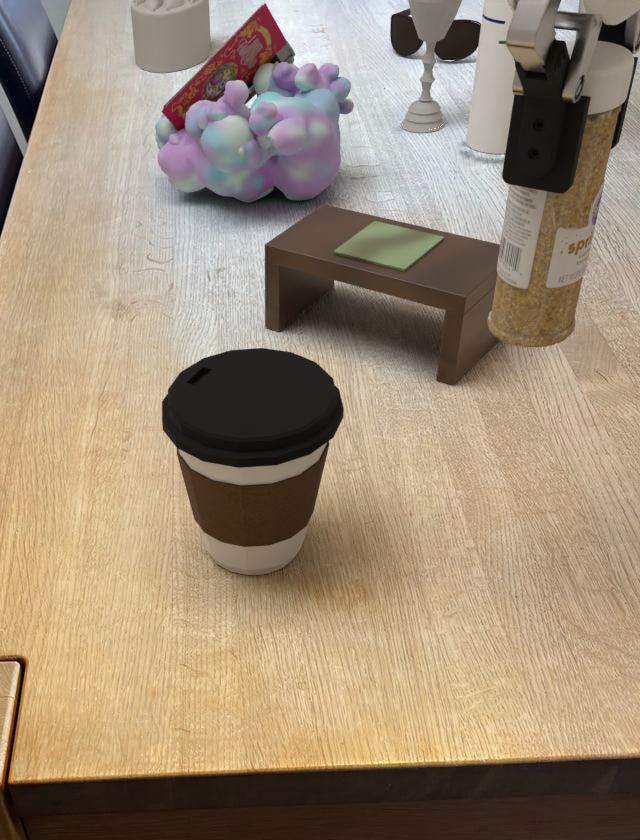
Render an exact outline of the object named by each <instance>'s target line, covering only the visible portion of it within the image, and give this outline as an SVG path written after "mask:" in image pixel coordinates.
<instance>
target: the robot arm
mask: <svg viewBox="0 0 640 840" xmlns="http://www.w3.org/2000/svg"><path fill="white" fill-rule="evenodd" d="M507 1H508V4H509V6H510V8H511V9H512V10H513V11H514V15H513V17H512V20H511V23H510V26H509V29H508V32H507V37H506V45H507V48H508V49H509V51H510V53H511V54H512V56H513V57H514V61H515V68H516V71H515V75H514V80H513V86H512V91H513V94H514V100H513V107H512V113H511V120H510V126H509V133H508V139H507V146H506V153H505V154H504V160H503V167H502V173H501V178H502V180H503V182H504V183H505V184H507V185H509V184H510V185H516V186H521V187H526V188H532V189H537V190H542V191H547V192H553V193H558V194H562V193H565V192H566V191H567V190H568V189H569V188H571V186H572V185H573V183H574V178H575V173H576V168H577V163H578V158H579V154H580V149H581V144H582V139H583V134H584V129H585V124H586V119H587V114H588V109H589V104H590V100H591V97H589V96H582V93H583V91H584V87H585V84H586V80H587V76H588V73H589V69H590V65H591V62H592V58H593V54H594V51H595V47H596V43H597V41H605V42H610V43H614V44H618V45H621V46H623V47H625V48H627V49H628V50H630V51H631V53H632V54H633V55H637V54H638V53H639V51H640V0H579V1H578V12H576V11H565V10H559V8H560V5H561V2H562V0H507ZM556 30H563V31H573V32H575V39H574V40H575V44H574V48H573V51H572V55H571V59H570V57H569V54H568V50H567V46H566V42H565V41H566V40H561V39H560V40H559V39H557V38H556V36H557V32H556ZM638 62H639V56H634V66H633V71H632V76H631V81H630V86H629V90H628V94H627V98H626V100H625V102H624V103H622V104H621V111H620V112H619V114H618V117H617V123H616V127H615V131H614V135H613V140H612V145H611V150H613V149H614V148H615V147H616V146H617V145H618V144H619V142H620V139H621V136H622V130H623V127H624V123H625V117H626V114H627V108H628V104H629V100H630V96H631V91H632V87H633V83H634V78H635V74H636V71H637V65H638Z"/></svg>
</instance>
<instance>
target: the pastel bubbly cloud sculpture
mask: <svg viewBox="0 0 640 840" xmlns="http://www.w3.org/2000/svg"><path fill="white" fill-rule="evenodd" d="M295 56H296V52H295V51H294V49H293V47H292V46H291V44H290V43H289V41H288V40H287V39H286V37H285V35H284V33H283V32H282V29H280V26H279V25H278V23H277V20H275V18H274V16H273V14H272V12H271V10H270V8H269V7H268V5H267V3H266V2H263V3H262V4H261V5H260V6H259V7H258V8H257V9H256V11H254V12H253V13H252V14H251V15H250V16H249V17H248V19H246V21H245V22H243V24H242V25H241V26H240V27H239V28H238V29H237V30H236V31H235V32H234V33H233V34H232V36H230V37H229V39H227V40H226V42H225V43H223V45H222V46H221V47H220V48H219V49H218V50H217V51H216V52H215V53H214V54H213V55H212V56H211V57H210V58H209V60H207V61H206V62H205V63H204V65H202V66H201V68H200V69H199V70H198V71H197V72H196V73H195V74H194V75H193V76H192V77H191V78H190V79H189V80H188V81H187V82H186V83H185V84H184V85H182V87H181V88H180V89H178V91H177V92H176V93H175V94H174V95H173V96H172V97H171V98H170V99H169V100H168V101H167V102H166V103H164V105H163V108H161V109H160V112H161V113H162V114H161V116H160V119H158V120H157V121H156V123H155V125H154V127H155V128H154V129H155V134H154V137H155V138H154V139H155V142H156V145H157V148H158V153H157V163H158V166H159V168H160V170H161V171H162V172H163V173H164V174H165V175H166V176H167V178H168V180H169V182H170V184H171V185H172V186H173V187H174V188H175V189H177V190H178V191H181V192H183V193H194V192H195V193H196V192H199V191H201V190H203V189H205V188H206V189H208V190H210V191H211V192H213V193H214V194H216V195H219V196H221V197H232V198H234V199H236V200H238V201H241V202H243V203H249V204H251V203H254V202H256V201H258V200H260V199H261V198H264V197H267V196H268V195H270V194H271V193H272V192H273V191H274V190H275V187H276V189H278V190H279V191H281V192H282V193H283V194H284V197H285V198H286V199H288V200H291V201H309V200H313V199H315V198H316V197H318V195H320V194H321V193H322V192H323V191H325V190H326V189H328V187H329V186H331V184H332V183H333V182H334V180H335V178H336V177H337V175H338V174H337V173H338V172H339V168H340V166H341V162H342V160H341V159H342V156H341V155H342V154H341V141H342V140H341V131H340V123H339V122H340V115H348V114H351V113H352V112H353V110H354V108H355V105H354V104H355V103H354V100H352V99H350V98H348V97H349V95H350V93H351V90H352V83H351V81H350V80H349V79H348V78H347V77H345V76H339V75H340V67H339V65H338V64H334V63H332V62H324V63H322V64H321V65H320V67H319V68H318V67H317V65H316V64H315V63H314V62H307V63H305V64H304V65H302V66H301V67H300V68H299V66H297V65H295V64H294V63H295V58H294V57H295ZM255 96H256V98H255V99H254V100H253V103H252V104H251V106H250V107H248V106H247V103H249V102H250V101H251V100H252V99H253V98H254V97H255Z"/></svg>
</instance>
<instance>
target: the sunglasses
mask: <svg viewBox="0 0 640 840" xmlns="http://www.w3.org/2000/svg"><path fill="white" fill-rule="evenodd" d="M480 30H481V22H479V21H477V20H474V19H466V18H465V19H464V18H463V19H461V18H459V19H454V20H453V22H452V24H451V26H450V28H449V30H448V32H447V33H446V35H445V37H444V38H443V39H442V40H440V41H437V42H436V45H435V49H434V53H435V55H436V57H437V58H438V59H440V61H443V60H455V61H454V62H458V61H462V60H464V59H467V58H468V57H470V56H472V55H473V54H474V53H475V52H476V51H477V50H478V45H479V37H480ZM389 32H390V33H389V34H390V36H389V37H390V43H391V47H392V49H393V50H394V52H395V54H397V55H399V56H401V57H405V58H407V57H410V56H413V55H414V54H415V53H417V52H418V51H419V50H420V49H421V48H422V46H423V44H424V43H425V41H423V40H421V39H419V37H418V34H417V31H416V28H415V25H414V22H413V19H412V16H411V12H410V7H409V8H406V9H403V10H401V11H399V12H396V13H393V14H391V16H390V30H389Z"/></svg>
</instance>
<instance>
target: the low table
mask: <svg viewBox="0 0 640 840" xmlns="http://www.w3.org/2000/svg"><path fill="white" fill-rule="evenodd" d="M499 250H500V244H499V243H496V242H492V241H488V240H482V239H478V238H474V237H469V236H465V235H461V234H457V233H452V232H448V231H443V230H438V229H434V228H430V227H425V226H422V225H417V224H412V223H408V222H403V221H399V220H396V219H390V218H387V217H381V216H377V215H374V214H368V213H364V212H360V211H356V210H351V209H346V208H342V207H339V206H333V205H329V204H324V203H323V204H321V205H320V206H318V207H317V208H315V209H314V210H313V211H311V212H310V213H308V214H306V215H305V216H304V217H302V218H301V219H300V220H298V221H297V222H295V223H294V224H292V225H291V226H289V227H287V228H286V229H285V230H283V231H282V232H281V233H279V234H278V235H275V237H274V238H272V239H270V240H269V241H267V242H266V243H265V244H264V328H266V329H269V330H272V331H275V332H277V333H279V332H281V331H282V330H283V329H284V328H286V327H287V326H288V325H290V324H291V323H292V322H293V321H296V319H298V318H299V317H300V316H301V315H303V314H304V313H305V312H307V311H308V310H309V309H311V308H312V307H313V306H314V305H316V304H317V303H318V302H319V301H321V300H323V298H325V297H326V296H328V295H329V294H330V293H331V292H332V291H334V289H335V281H336V282H339V283H342V284H346V285H350V286H354V287H358V288H362V289H366V290H369V291H373V292H376V293H381V294H385V295H387V296H392V297H395V298H399V299H403V300H406V301H410V302H413V303H417V304H422V305H425V306H429V307H432V308H435V309H439V310H443V311H444V317H443V318H444V319H443V326H442V333H441V341H440V348H439V349H440V350H439V356H438V364H437V371H436V381H437V382H440V383H444V384H447V385H451V386H454V385H455V384H456V383H457V382H458V381H459V380H460V379H461V378H462V377H463V376H464V375H465V374H466V373H467V372H468V371H470V369H471V368H472V367H474V365H476V364H477V362H479V361H480V360H481V359H482V358H483V357H484V356H485V355H486V354H487V353H488V352H489V351H490V350H491V349H492V348H493V347H494V346H495V345H496V344H497V343H498V342H499V341H501V340H500V339H498V338H497V337H496V336H494V335H493V334H492V333H491V332H490V330H489V328H488V323H487V320H488V316H489V313H490V312H491V310H492V306H493V300H494V292H495V286H496V280H497V274H498V273H497V263H498V256H499Z"/></svg>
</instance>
